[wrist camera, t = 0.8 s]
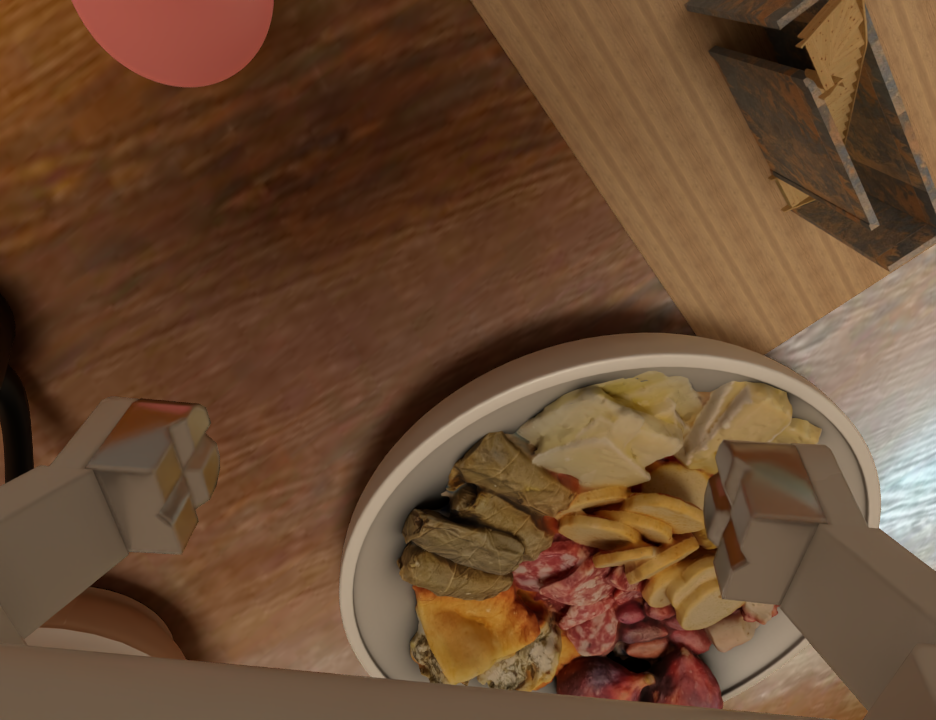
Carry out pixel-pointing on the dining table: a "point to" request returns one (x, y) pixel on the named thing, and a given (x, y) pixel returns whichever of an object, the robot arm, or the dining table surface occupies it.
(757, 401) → the bowl
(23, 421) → the mug
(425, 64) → the dining table surface
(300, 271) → the dining table surface
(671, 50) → the ruin model on sheet
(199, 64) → the cup
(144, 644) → the bowl
